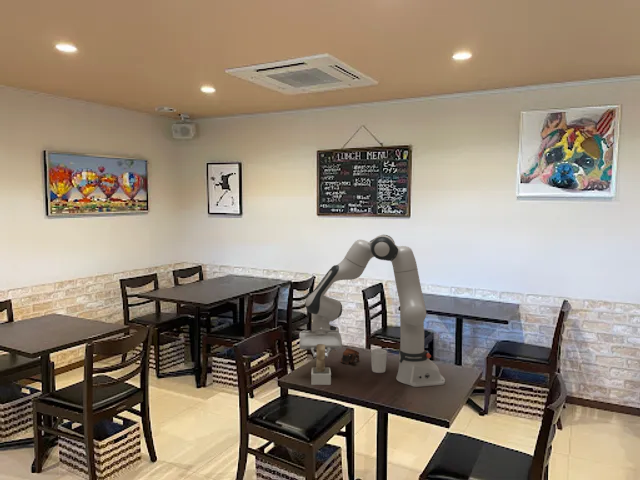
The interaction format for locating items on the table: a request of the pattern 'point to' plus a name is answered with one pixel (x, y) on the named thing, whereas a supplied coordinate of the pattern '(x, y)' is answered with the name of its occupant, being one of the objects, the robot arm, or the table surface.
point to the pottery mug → (347, 358)
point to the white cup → (378, 360)
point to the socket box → (321, 377)
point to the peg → (320, 358)
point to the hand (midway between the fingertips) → (320, 357)
